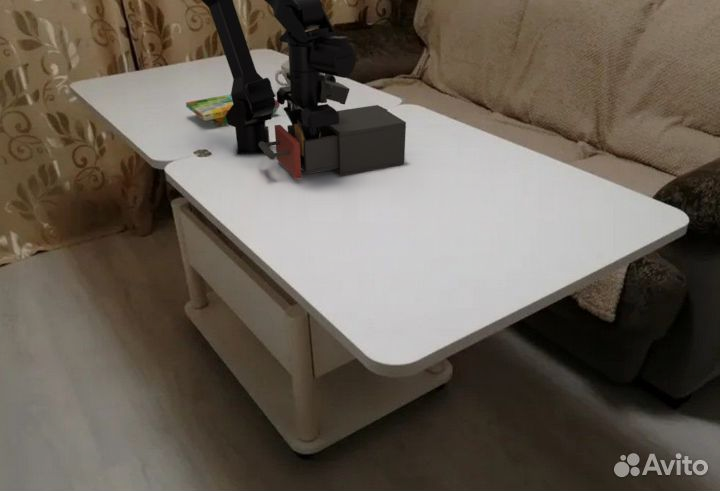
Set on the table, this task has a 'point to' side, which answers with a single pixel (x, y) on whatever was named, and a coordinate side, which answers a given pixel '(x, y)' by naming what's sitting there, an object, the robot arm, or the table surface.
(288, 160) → the red-fronted drawer
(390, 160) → the drawer cabinet casing
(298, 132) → the oak block
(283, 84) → the teacup
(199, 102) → the puzzle game
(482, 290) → the table surface
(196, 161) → the table surface
